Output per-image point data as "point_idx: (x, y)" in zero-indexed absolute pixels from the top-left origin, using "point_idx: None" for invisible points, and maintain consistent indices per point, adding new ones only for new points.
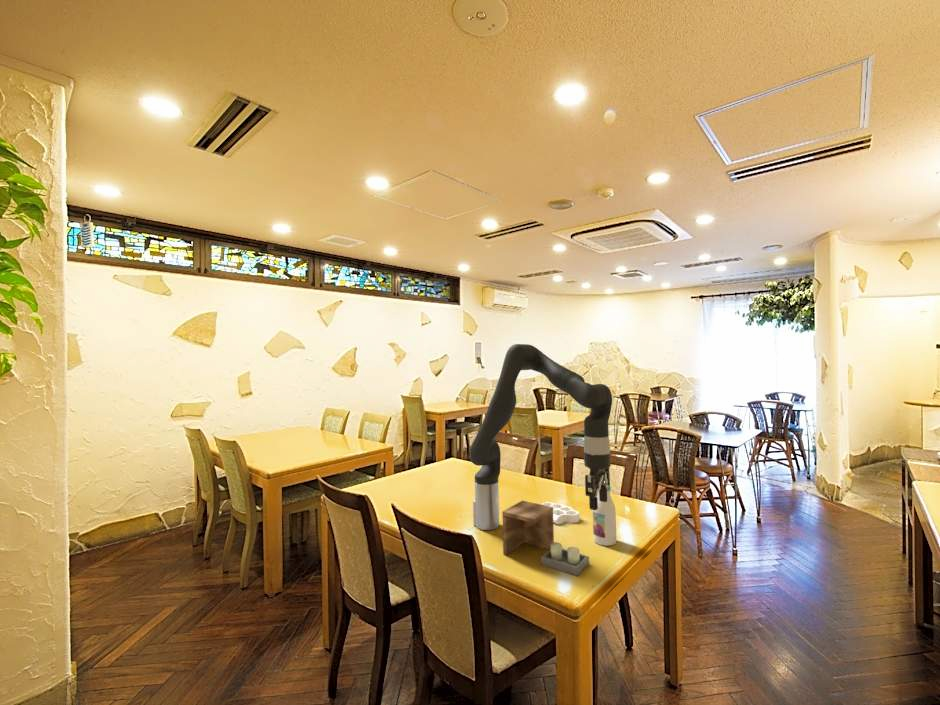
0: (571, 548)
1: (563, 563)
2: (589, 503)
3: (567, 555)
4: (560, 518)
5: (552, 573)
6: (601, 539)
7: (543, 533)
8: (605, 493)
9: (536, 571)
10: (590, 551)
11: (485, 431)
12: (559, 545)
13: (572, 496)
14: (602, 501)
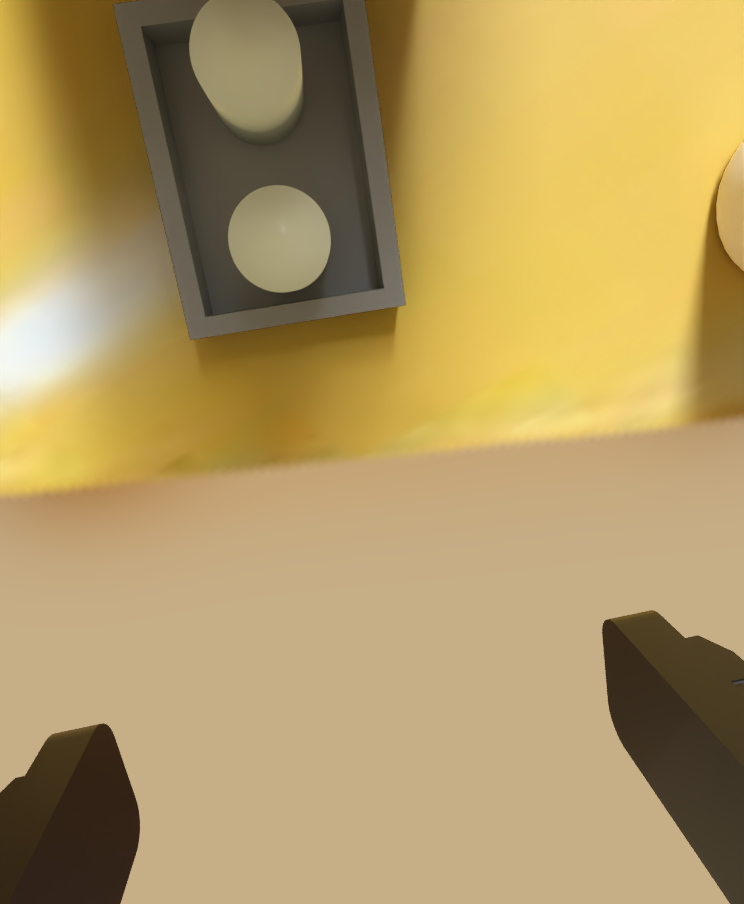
0: (285, 214)
1: (169, 224)
2: (5, 809)
3: (359, 133)
4: None
5: (98, 184)
6: (741, 213)
7: None
8: (709, 857)
9: (22, 70)
10: (576, 204)
11: None
12: (254, 90)
13: None
14: (607, 657)
